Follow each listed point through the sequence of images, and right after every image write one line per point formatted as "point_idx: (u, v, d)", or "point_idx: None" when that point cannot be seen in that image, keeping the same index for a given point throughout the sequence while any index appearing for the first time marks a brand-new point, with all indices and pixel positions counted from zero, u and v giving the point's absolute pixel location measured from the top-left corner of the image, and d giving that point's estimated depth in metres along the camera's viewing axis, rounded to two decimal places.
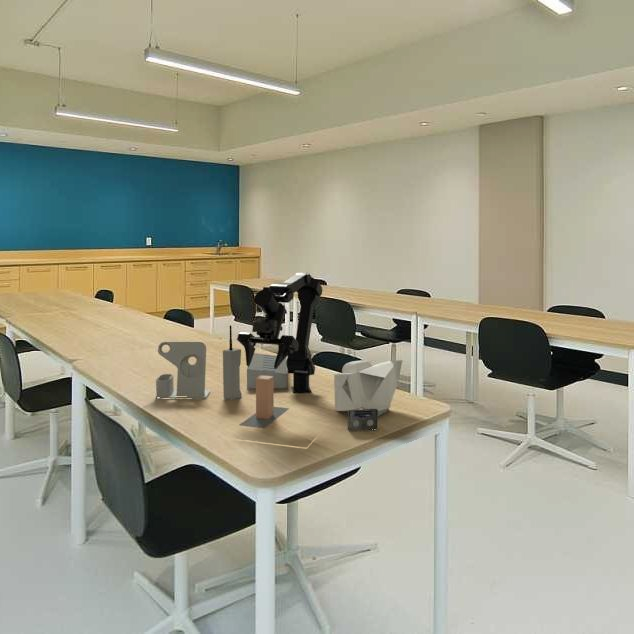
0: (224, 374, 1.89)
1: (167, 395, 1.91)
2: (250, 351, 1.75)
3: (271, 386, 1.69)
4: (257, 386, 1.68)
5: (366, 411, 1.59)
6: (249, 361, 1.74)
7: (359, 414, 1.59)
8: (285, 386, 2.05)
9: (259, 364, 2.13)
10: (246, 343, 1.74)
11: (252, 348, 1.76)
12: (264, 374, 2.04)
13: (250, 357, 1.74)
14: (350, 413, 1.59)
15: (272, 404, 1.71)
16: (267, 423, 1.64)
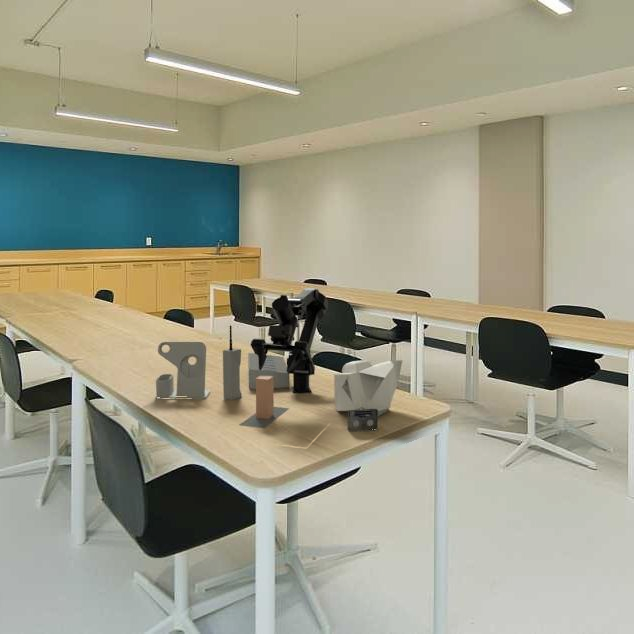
0: (224, 374, 1.89)
1: (167, 395, 1.91)
2: (263, 356, 1.80)
3: (271, 386, 1.69)
4: (257, 386, 1.68)
5: (366, 411, 1.59)
6: (261, 365, 1.78)
7: (359, 414, 1.59)
8: (287, 386, 2.06)
9: None
10: (260, 348, 1.79)
11: (264, 354, 1.81)
12: (266, 374, 2.04)
13: (262, 362, 1.79)
14: (350, 413, 1.59)
15: (272, 404, 1.71)
16: (267, 423, 1.64)
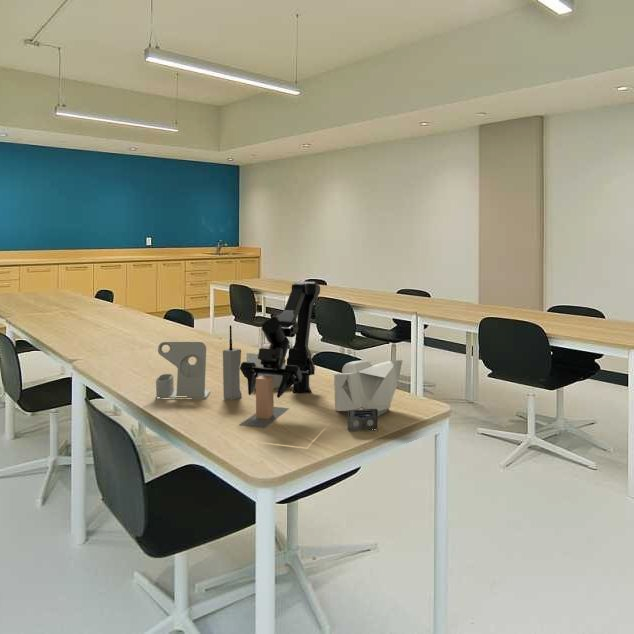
0: (224, 374, 1.89)
1: (167, 395, 1.91)
2: (252, 380, 1.73)
3: (271, 386, 1.69)
4: (257, 386, 1.68)
5: (366, 411, 1.59)
6: (251, 390, 1.71)
7: (359, 414, 1.59)
8: None
9: (260, 364, 2.13)
10: (249, 371, 1.72)
11: (254, 378, 1.75)
12: (268, 374, 2.04)
13: (252, 386, 1.72)
14: (350, 413, 1.59)
15: (272, 404, 1.71)
16: (267, 423, 1.64)
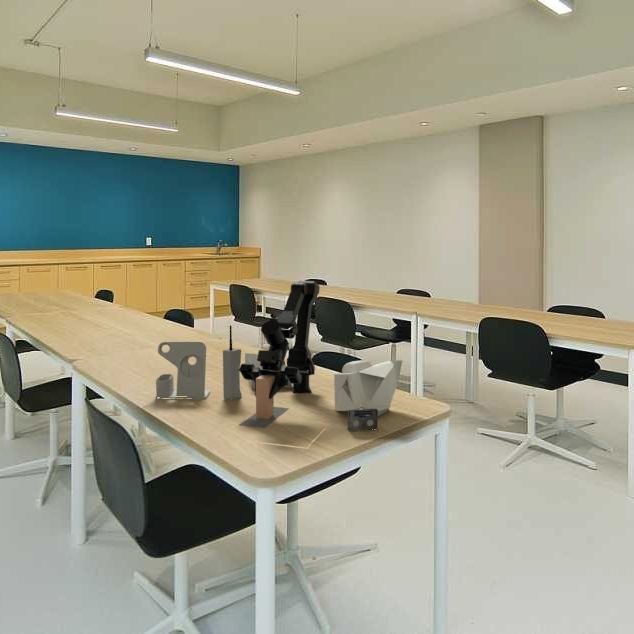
0: (224, 374, 1.89)
1: (167, 395, 1.91)
2: None
3: (271, 386, 1.69)
4: (257, 386, 1.68)
5: (366, 411, 1.59)
6: None
7: (359, 414, 1.59)
8: (289, 385, 2.06)
9: None
10: (256, 374, 1.71)
11: None
12: None
13: None
14: (350, 413, 1.59)
15: (272, 404, 1.71)
16: (267, 423, 1.64)
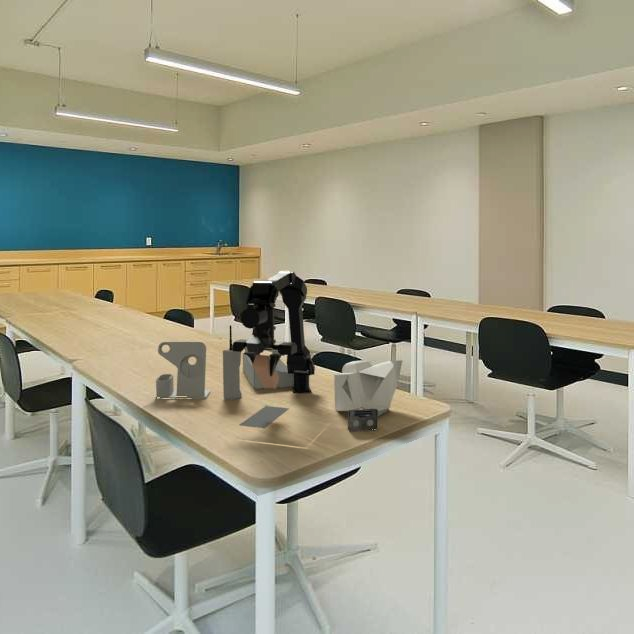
0: (224, 374, 1.89)
1: (167, 395, 1.91)
2: None
3: (269, 365, 1.67)
4: (256, 370, 1.67)
5: (366, 411, 1.59)
6: None
7: (359, 414, 1.59)
8: (291, 385, 2.07)
9: None
10: (251, 355, 1.67)
11: (257, 354, 1.70)
12: None
13: None
14: (350, 413, 1.59)
15: (275, 373, 1.72)
16: (267, 423, 1.64)
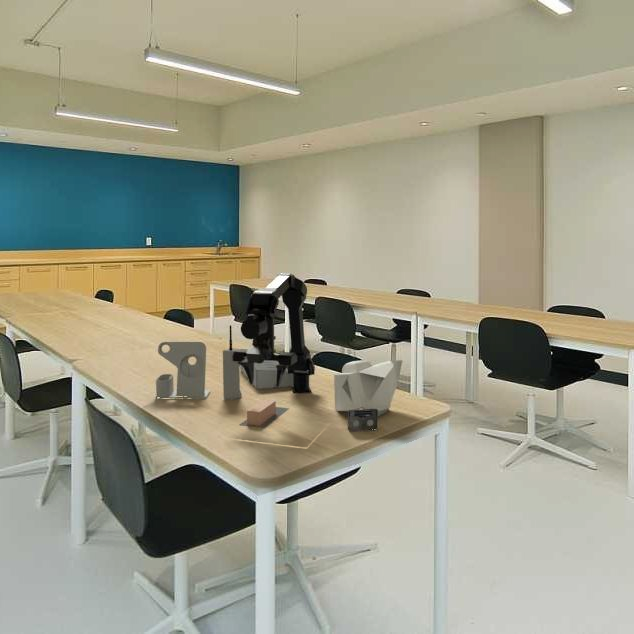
0: (224, 374, 1.89)
1: (167, 395, 1.91)
2: (250, 369, 1.70)
3: (263, 414, 1.65)
4: None
5: (366, 411, 1.59)
6: (252, 379, 1.71)
7: (359, 414, 1.59)
8: None
9: (261, 364, 2.13)
10: (244, 365, 1.68)
11: (251, 363, 1.71)
12: (273, 374, 2.05)
13: (252, 374, 1.71)
14: (350, 413, 1.59)
15: (271, 406, 1.70)
16: (267, 423, 1.64)
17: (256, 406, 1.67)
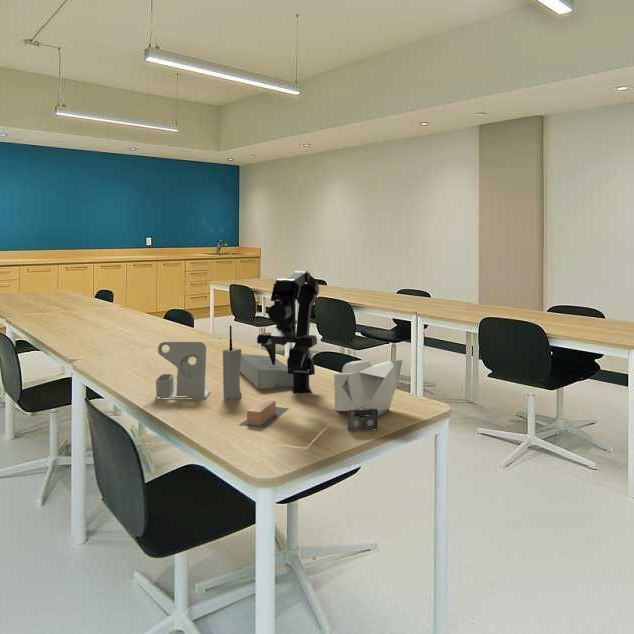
0: (224, 374, 1.89)
1: (167, 395, 1.91)
2: (272, 350, 1.84)
3: (263, 414, 1.65)
4: None
5: (366, 411, 1.59)
6: (274, 360, 1.85)
7: (359, 414, 1.59)
8: None
9: (261, 364, 2.13)
10: (267, 346, 1.82)
11: (273, 345, 1.85)
12: (275, 373, 2.05)
13: (274, 355, 1.85)
14: (350, 413, 1.59)
15: (271, 406, 1.70)
16: (267, 423, 1.64)
17: (256, 406, 1.67)
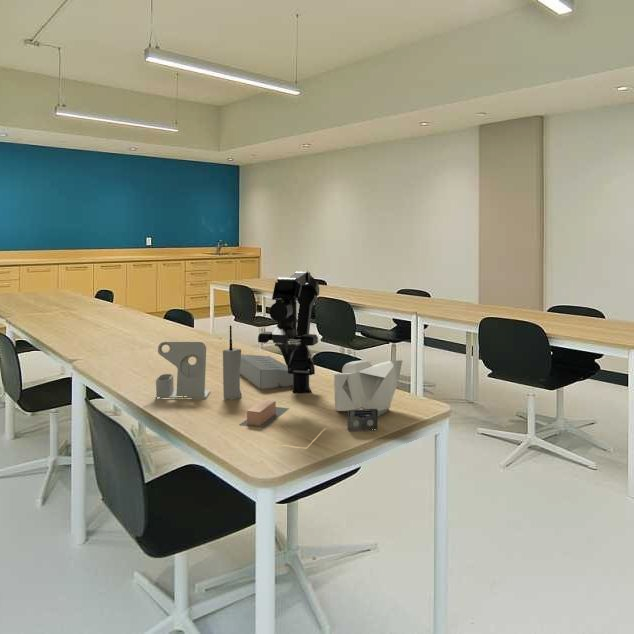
0: (224, 374, 1.89)
1: (167, 395, 1.91)
2: (286, 350, 1.83)
3: (263, 414, 1.65)
4: None
5: (366, 411, 1.59)
6: None
7: (359, 414, 1.59)
8: None
9: (261, 364, 2.13)
10: (281, 346, 1.81)
11: (286, 345, 1.84)
12: (276, 373, 2.05)
13: None
14: (350, 413, 1.59)
15: (271, 406, 1.70)
16: (267, 423, 1.64)
17: (256, 406, 1.67)
